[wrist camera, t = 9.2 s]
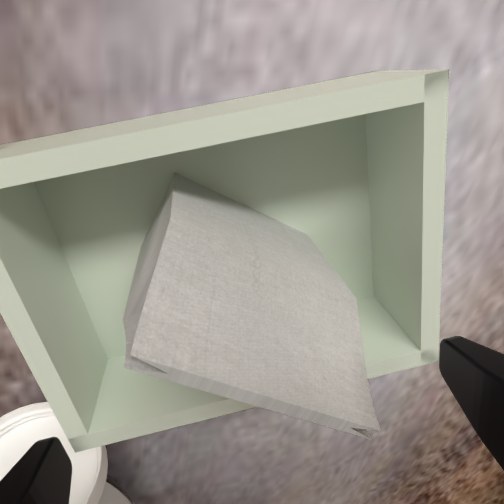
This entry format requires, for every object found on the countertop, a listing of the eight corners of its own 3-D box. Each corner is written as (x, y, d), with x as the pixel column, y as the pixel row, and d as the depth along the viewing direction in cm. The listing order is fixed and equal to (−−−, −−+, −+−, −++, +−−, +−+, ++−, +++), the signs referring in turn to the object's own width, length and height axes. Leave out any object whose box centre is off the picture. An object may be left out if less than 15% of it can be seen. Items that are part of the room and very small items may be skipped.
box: (385, 301, 22) (438, 361, 17) (98, 369, 21) (74, 452, 16) (377, 70, 17) (449, 69, 12) (0, 145, 16) (-74, 173, 11)
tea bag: (174, 172, 17) (163, 287, 8) (307, 234, 19) (420, 382, 10) (141, 245, 18) (96, 421, 9) (270, 297, 20) (341, 481, 11)
